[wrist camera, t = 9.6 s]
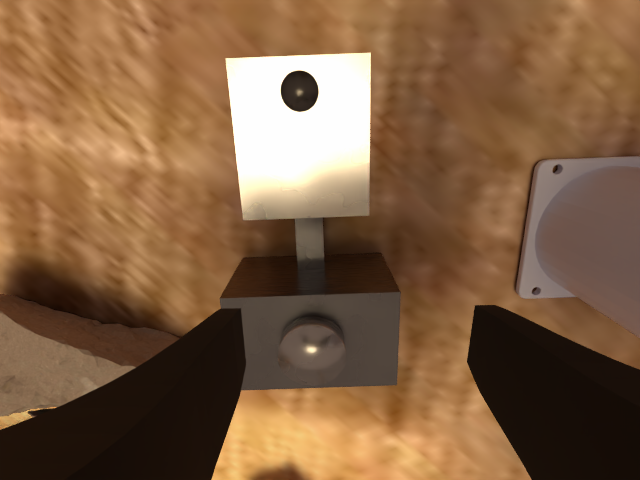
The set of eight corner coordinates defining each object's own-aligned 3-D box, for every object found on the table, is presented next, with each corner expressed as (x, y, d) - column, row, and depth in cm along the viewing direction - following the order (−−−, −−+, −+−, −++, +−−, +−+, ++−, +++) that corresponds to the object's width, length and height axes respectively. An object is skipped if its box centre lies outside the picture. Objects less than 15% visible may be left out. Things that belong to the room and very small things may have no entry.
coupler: (384, 83, 17) (417, 61, 12) (379, 328, 22) (401, 400, 16) (223, 89, 17) (177, 70, 12) (251, 332, 22) (227, 406, 16)
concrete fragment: (188, 422, 24) (147, 515, 18) (-16, 328, 22) (-137, 402, 16) (236, 349, 22) (207, 428, 16) (19, 238, 20) (-104, 284, 14)
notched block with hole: (356, 73, 17) (371, 51, 12) (356, 193, 19) (369, 216, 14) (251, 77, 17) (224, 57, 12) (261, 197, 19) (242, 221, 14)
